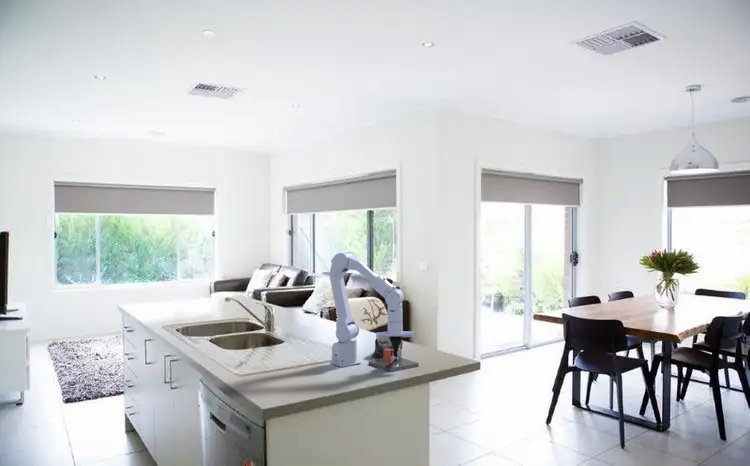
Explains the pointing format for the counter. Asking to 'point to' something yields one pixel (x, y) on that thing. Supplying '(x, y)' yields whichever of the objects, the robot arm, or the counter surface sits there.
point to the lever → (389, 356)
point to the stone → (382, 347)
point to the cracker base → (394, 363)
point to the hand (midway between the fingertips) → (395, 356)
